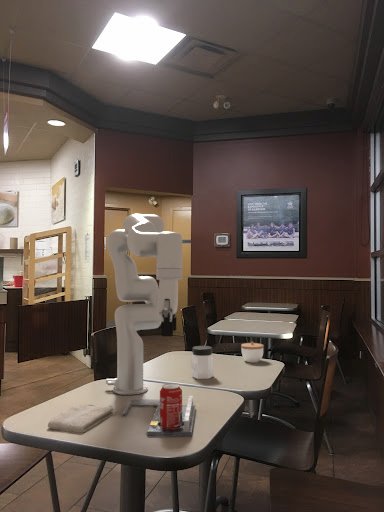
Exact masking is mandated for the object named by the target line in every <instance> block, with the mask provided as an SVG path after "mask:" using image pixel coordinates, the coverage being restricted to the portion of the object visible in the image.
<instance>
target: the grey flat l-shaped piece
mask: <svg viewBox="0 0 384 512" xmlns="http://www.w3.org/2000/svg"><path fill="white" fill-rule="evenodd" d="M158 405H160V399H155V398H154V399H148V398H147V399H144V398H143V399H141V398H140V399H139V398H137V399H135V398H134V399H133V398H132V399H131V400H130V402H128V405H127V406H125V407H126V408H125V409H124V410H123V412H122V414H121V415H122V418H124V417H125V418H126V417H127V415H128V413H129V412H130V410H131V408H134V407H135V408H136V407H137V408H157V407H158Z"/></svg>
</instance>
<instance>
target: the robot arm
mask: <svg viewBox="0 0 384 512" xmlns="http://www.w3.org/2000/svg"><path fill="white" fill-rule="evenodd" d="M122 227H123V229H121V228H120V229H114V230H113V231H111V232H110V233H108V235H107V251H108V255H109V257H110V259H111V262H112V264H113V269H114V281H115V291H116V296H117V299H118V300H119V301H120V302H125V303H126V302H129V303H130V302H144V303H140V304H139V303H135V304H133V303H132V304H124V305H121V306H119V307H117V308H116V309H115V311H114V322H115V329H116V340H117V341H116V347H117V348H116V350H117V351H116V352H117V353H116V354H117V355H116V356H117V360H116V361H117V367H116V369H117V370H116V372H117V373H116V375H117V376H116V377H115V378H106V380H105V384H106V385H107V386H113V387H112V392H113V393H115V394H117V395H124V396H132V395H139V394H143V393H145V392H147V391H148V389H149V388H148V385H147V384H145V383H144V341H143V339H142V337H141V336H140V335H139V334H138V331H140V330H143V331H144V330H153V329H158V328H159V327H161V328H160V329H161V331H160V333H161V337H173V336H174V332H176V331H177V312H178V306H179V281H180V280H183V236H182V234H181V233H180V232H178V231H177V232H174V231H165V223H164V221H163V219H162V217H161V216H159V215H157V214H148V213H147V214H145V213H144V214H142V213H133V214H130V215H127V216H126V217H125V218H124V220H123V223H122ZM129 252H130V253H132V254H133V255H134V256H135V257H138V258H156V260H155V261H156V270H155V271H156V272H155V273H156V274H155V275H156V277H155V278H156V279H155V278H154V277H152V276H148V275H145V276H143V275H141V276H140V275H139V274H138V267H137V264H136V262H135V260H134V259H133V258H132V257H131V256H130V254H128V253H129ZM157 280H158V281H159V282H157Z"/></svg>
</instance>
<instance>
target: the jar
mask: <svg viewBox="0 0 384 512" xmlns="http://www.w3.org/2000/svg"><path fill="white" fill-rule="evenodd" d="M191 377H192V378H194V379H197V380H209V379H211V378H212V377H214V353H213V347H212V346H209V345H197V346H192V353H191Z"/></svg>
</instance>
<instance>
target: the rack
mask: <svg viewBox="0 0 384 512" xmlns="http://www.w3.org/2000/svg"><path fill="white" fill-rule="evenodd" d="M195 414H196V405H195V404H194V396H193V395H189V396H188V400H187V404H182V426H181V427H180V428H176V429H165V428H162V427H161V426H160V405H158V407H156V409H155V412H154V414H153V417H152V419H151V422H150V423H149V426H148V428H147V431H146V436H147V437H188V438H189V437H192V435H193V429H194V421H195Z"/></svg>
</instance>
